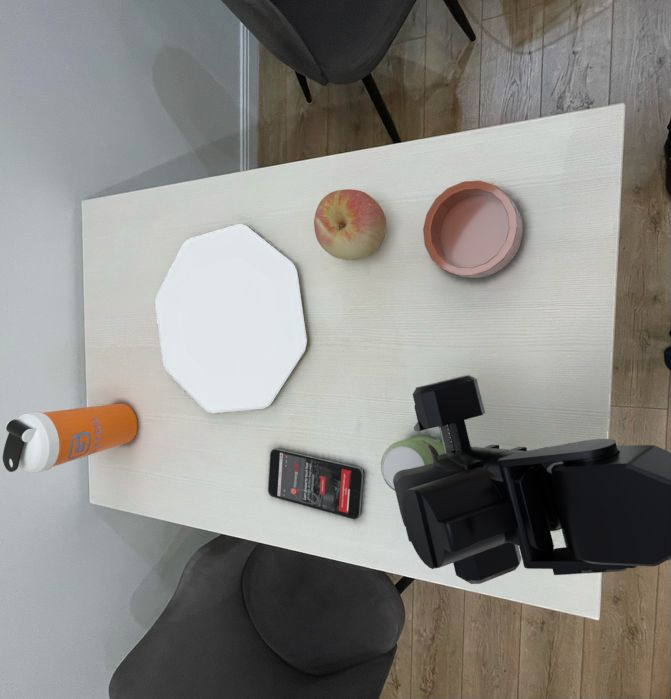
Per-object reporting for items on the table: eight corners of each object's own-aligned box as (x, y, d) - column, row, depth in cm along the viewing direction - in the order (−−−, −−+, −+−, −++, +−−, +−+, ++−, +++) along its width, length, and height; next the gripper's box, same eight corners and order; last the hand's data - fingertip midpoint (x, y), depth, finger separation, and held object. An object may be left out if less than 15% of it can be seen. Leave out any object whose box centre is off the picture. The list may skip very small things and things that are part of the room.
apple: (335, 199, 74) (305, 186, 67) (396, 195, 70) (371, 181, 63) (333, 263, 74) (303, 257, 67) (393, 263, 70) (368, 257, 63)
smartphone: (358, 520, 74) (267, 495, 80) (360, 519, 74) (270, 494, 81) (362, 469, 73) (270, 448, 80) (364, 467, 74) (273, 447, 80)
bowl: (533, 194, 62) (528, 186, 58) (509, 286, 64) (502, 284, 60) (445, 183, 67) (435, 174, 63) (425, 269, 68) (414, 266, 64)
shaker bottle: (104, 441, 97) (-9, 469, 80) (107, 393, 96) (-6, 410, 79) (140, 453, 93) (29, 485, 76) (144, 403, 92) (32, 424, 75)
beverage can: (400, 468, 71) (363, 494, 61) (416, 417, 70) (381, 434, 59) (445, 488, 69) (414, 519, 58) (462, 435, 67) (434, 457, 57)
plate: (320, 402, 76) (315, 403, 75) (176, 416, 89) (169, 417, 88) (293, 210, 77) (287, 208, 75) (153, 251, 89) (146, 250, 88)
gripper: (399, 396, 43) (340, 402, 57) (456, 632, 42) (381, 577, 56) (515, 367, 46) (431, 380, 61) (570, 584, 45) (471, 543, 60)
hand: (427, 468), depth 59 cm, fingers open, 9 cm apart
